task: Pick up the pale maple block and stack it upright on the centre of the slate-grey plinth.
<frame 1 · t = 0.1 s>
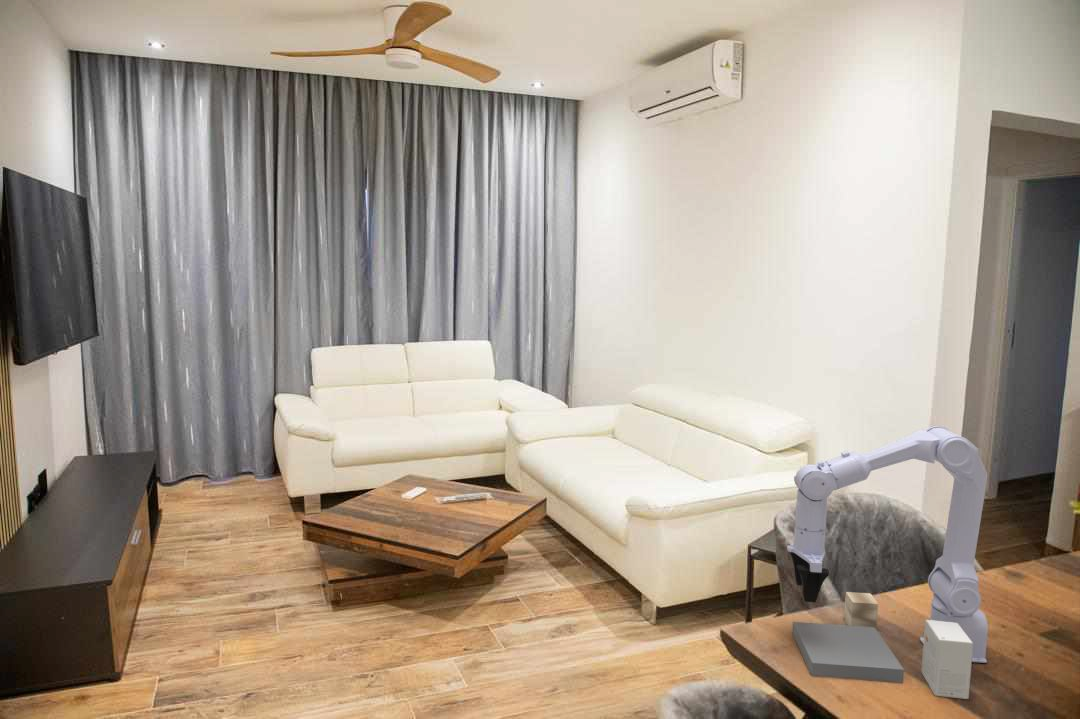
hand: (805, 592, 148), 10 cm above the table, tool pointing down, fingers open, 7 cm apart
small box: (943, 687, 134), on the table
maple block: (859, 625, 157), on the table
slate plinth: (844, 656, 144), on the table
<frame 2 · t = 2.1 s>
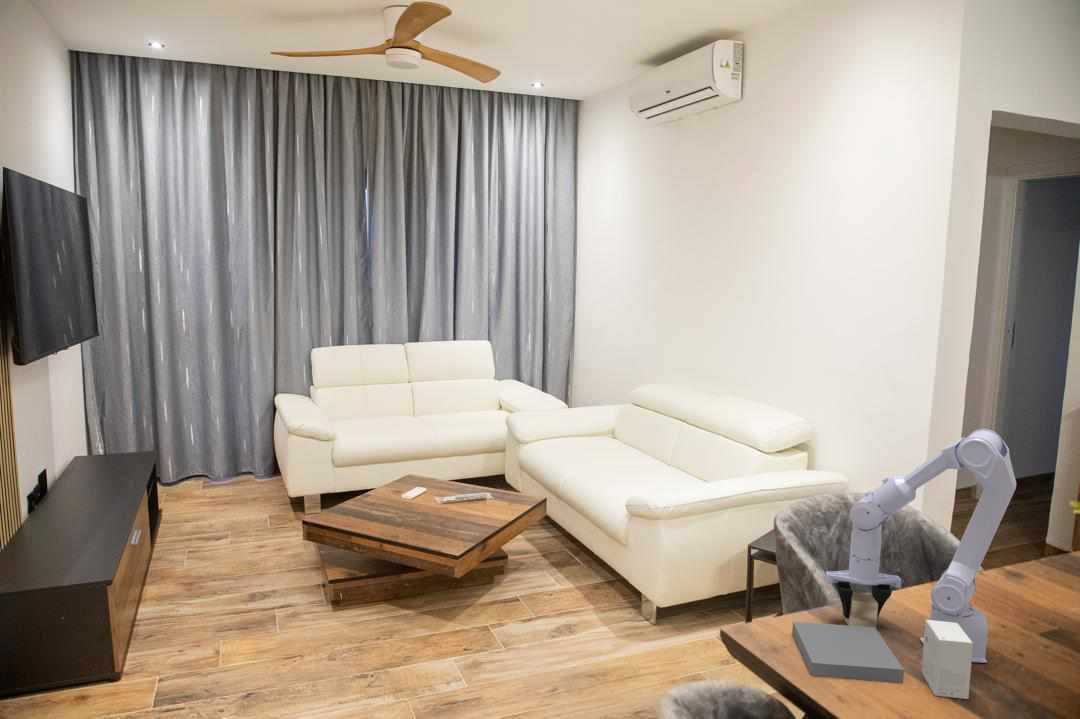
hand: (860, 617, 157), 2 cm above the table, tool pointing down, fingers closed on maple block, 5 cm apart
maple block: (859, 624, 157), on the table, touching gripper
everything else where it was.
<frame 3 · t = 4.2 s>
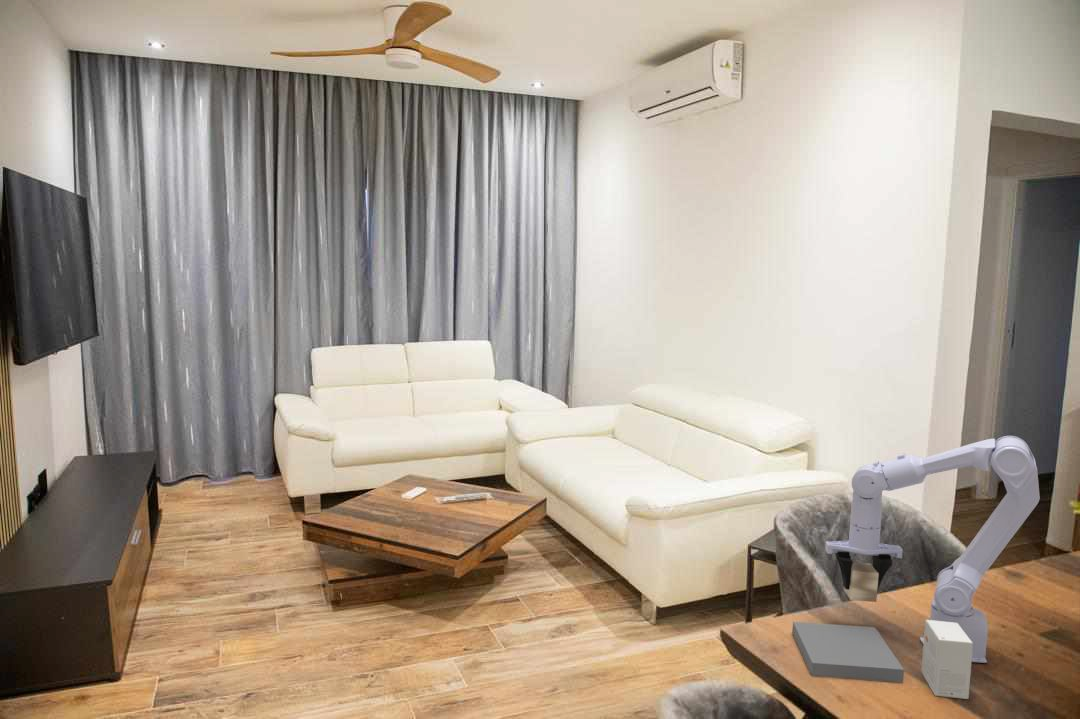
hand: (860, 588, 154), 9 cm above the table, tool pointing down, fingers closed on maple block, 5 cm apart
maple block: (859, 595, 154), point 7 cm above the table, touching gripper
everything else where it was.
when the fingers open (5 cm above the table, at t = 6.3 s): maple block stays where it is, resting on slate plinth.
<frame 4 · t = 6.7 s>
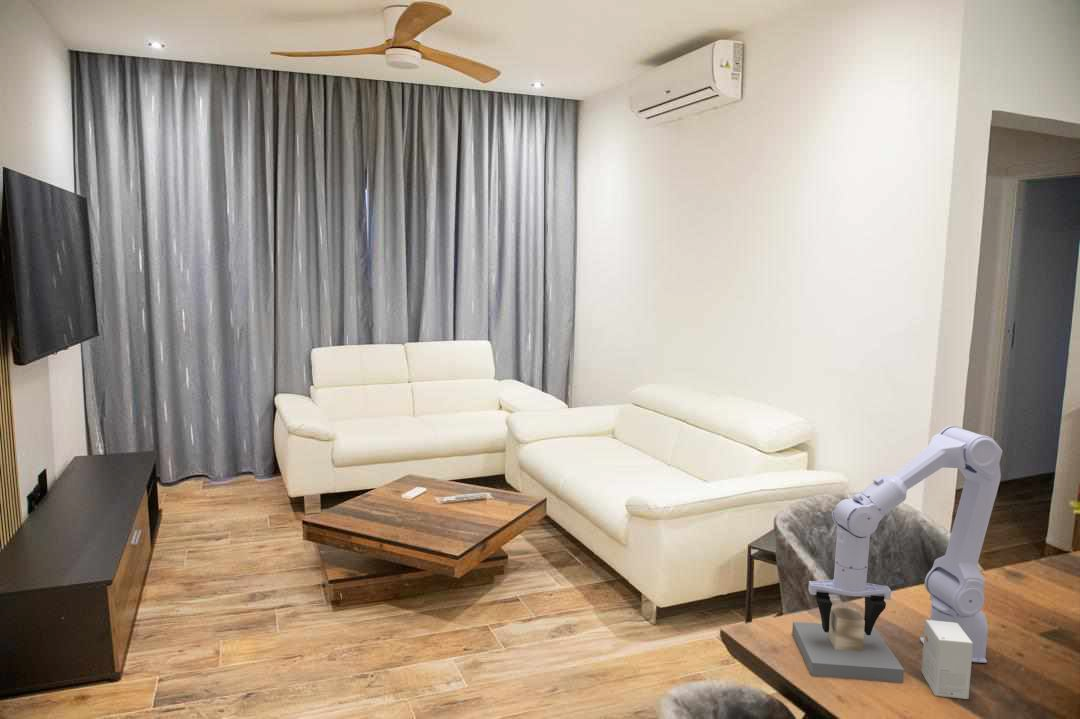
hand: (846, 631, 143), 5 cm above the table, tool pointing down, fingers open, 7 cm apart
maple block: (844, 643, 144), point 2 cm above the table, touching slate plinth
everything else where it was.
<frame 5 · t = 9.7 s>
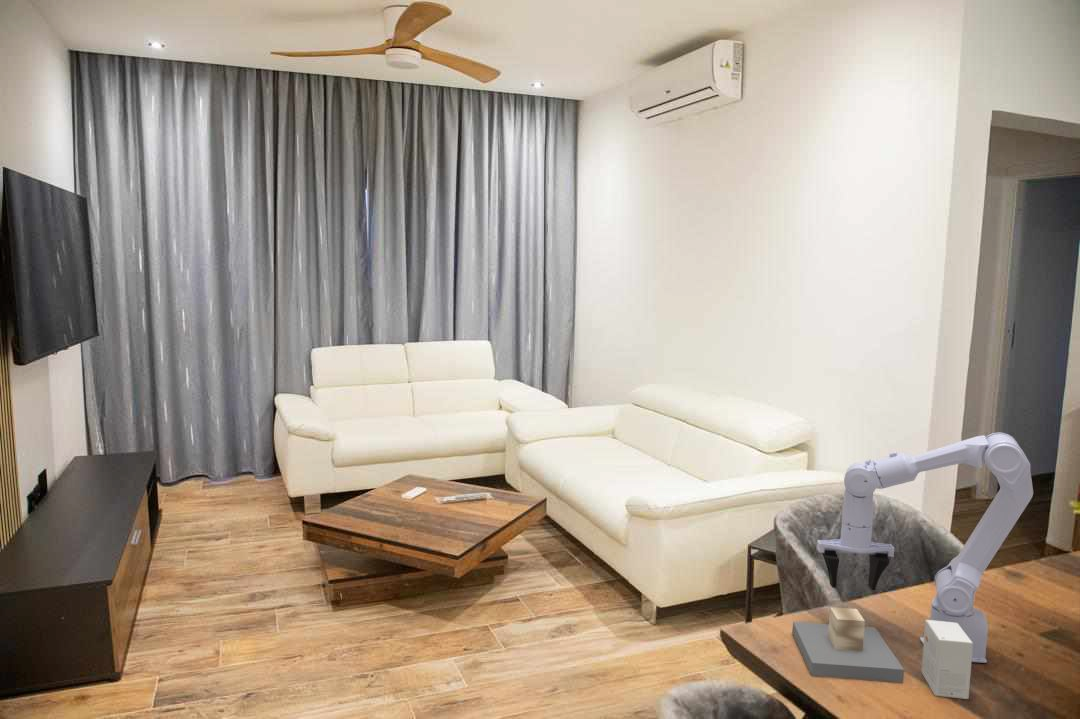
hand: (852, 587, 153), 9 cm above the table, tool pointing down, fingers open, 7 cm apart
nothing on the table moved.
at the end: maple block inside the target area on the slate plinth (0.2 cm from its centre), point 2.5 cm above the slate plinth's base; maple block tilted 0°; the gripper is holding nothing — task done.
